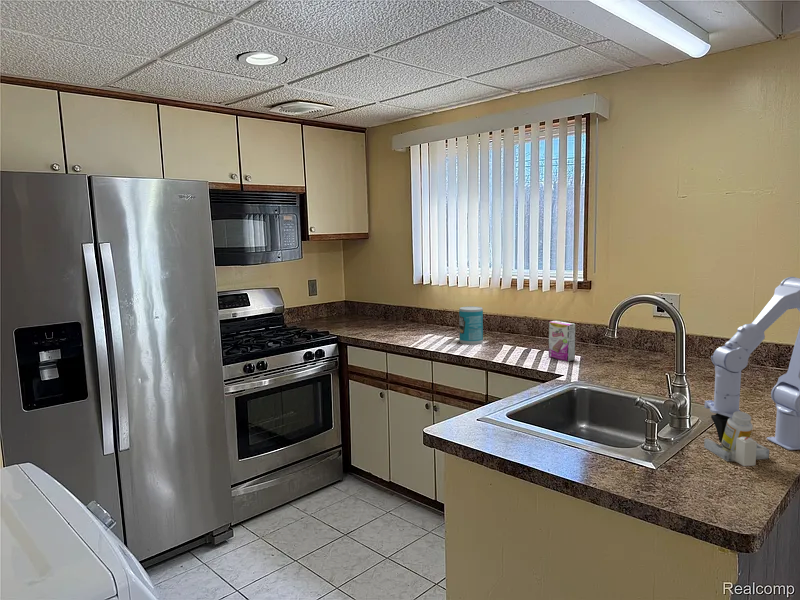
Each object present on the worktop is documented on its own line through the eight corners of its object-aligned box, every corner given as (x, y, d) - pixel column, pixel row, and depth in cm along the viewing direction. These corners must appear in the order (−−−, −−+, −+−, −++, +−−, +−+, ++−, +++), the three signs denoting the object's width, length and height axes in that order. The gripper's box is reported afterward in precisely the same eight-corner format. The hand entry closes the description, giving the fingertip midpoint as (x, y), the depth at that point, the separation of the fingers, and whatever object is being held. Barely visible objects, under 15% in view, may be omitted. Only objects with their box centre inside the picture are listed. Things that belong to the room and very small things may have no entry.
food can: (455, 343, 281) (455, 309, 279) (464, 339, 291) (464, 305, 289) (478, 345, 275) (477, 310, 273) (486, 341, 286) (486, 306, 283)
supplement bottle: (747, 447, 142) (757, 415, 137) (742, 458, 138) (752, 425, 134) (723, 438, 145) (733, 406, 141) (717, 448, 141) (727, 416, 137)
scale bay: (743, 444, 145) (743, 436, 145) (768, 458, 137) (769, 449, 136) (704, 447, 144) (704, 438, 144) (727, 461, 136) (728, 452, 135)
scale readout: (746, 460, 136) (747, 435, 135) (755, 465, 133) (756, 439, 132) (735, 461, 136) (736, 436, 135) (743, 466, 133) (745, 440, 132)
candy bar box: (547, 357, 247) (548, 321, 245) (555, 355, 250) (555, 320, 248) (567, 362, 238) (568, 324, 236) (575, 360, 241) (576, 323, 238)
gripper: (695, 385, 150) (692, 433, 151) (732, 402, 135) (728, 454, 137) (719, 384, 150) (716, 431, 152) (758, 400, 136) (755, 452, 138)
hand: (724, 442), depth 145 cm, fingers closed
